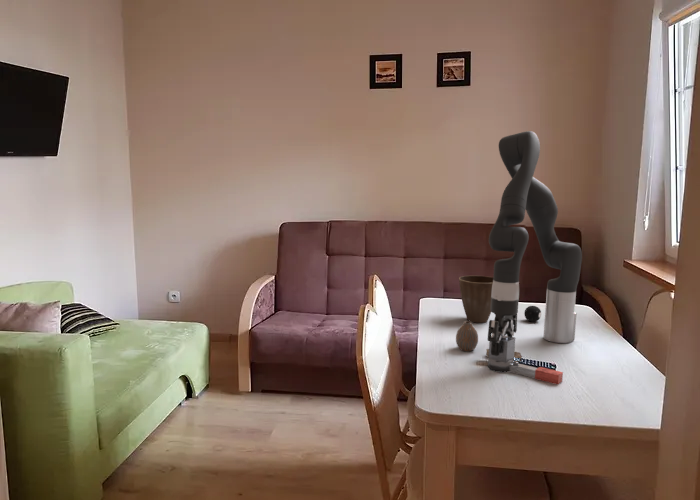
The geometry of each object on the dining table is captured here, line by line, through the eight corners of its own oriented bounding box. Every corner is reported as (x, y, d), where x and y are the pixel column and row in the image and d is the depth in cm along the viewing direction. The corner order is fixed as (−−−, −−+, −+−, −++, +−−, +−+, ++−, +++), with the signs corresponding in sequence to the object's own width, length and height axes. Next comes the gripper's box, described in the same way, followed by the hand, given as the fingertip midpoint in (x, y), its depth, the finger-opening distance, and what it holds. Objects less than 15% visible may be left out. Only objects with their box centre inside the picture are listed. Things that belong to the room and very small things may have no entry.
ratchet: (494, 362, 170) (495, 342, 170) (564, 379, 158) (566, 357, 157) (483, 368, 165) (485, 347, 164) (555, 386, 152) (557, 364, 151)
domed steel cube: (496, 353, 169) (498, 330, 168) (514, 357, 166) (515, 334, 165) (488, 358, 165) (489, 334, 164) (506, 362, 161) (507, 338, 160)
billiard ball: (528, 318, 222) (529, 303, 221) (543, 321, 218) (544, 306, 217) (521, 321, 218) (522, 305, 217) (536, 324, 214) (537, 308, 213)
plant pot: (450, 321, 215) (453, 279, 212) (465, 313, 227) (467, 273, 225) (489, 328, 207) (492, 284, 205) (502, 319, 220) (504, 278, 217)
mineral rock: (484, 354, 171) (487, 340, 178) (483, 366, 173) (486, 351, 180) (521, 360, 168) (523, 345, 175) (520, 372, 170) (522, 357, 177)
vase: (477, 353, 178) (479, 326, 177) (455, 351, 180) (456, 324, 178) (477, 346, 185) (478, 320, 184) (455, 345, 186) (456, 318, 185)
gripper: (503, 290, 170) (499, 343, 173) (481, 298, 159) (478, 354, 162) (527, 294, 166) (523, 348, 168) (506, 303, 155) (503, 360, 157)
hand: (501, 351), depth 165 cm, fingers open, 8 cm apart
